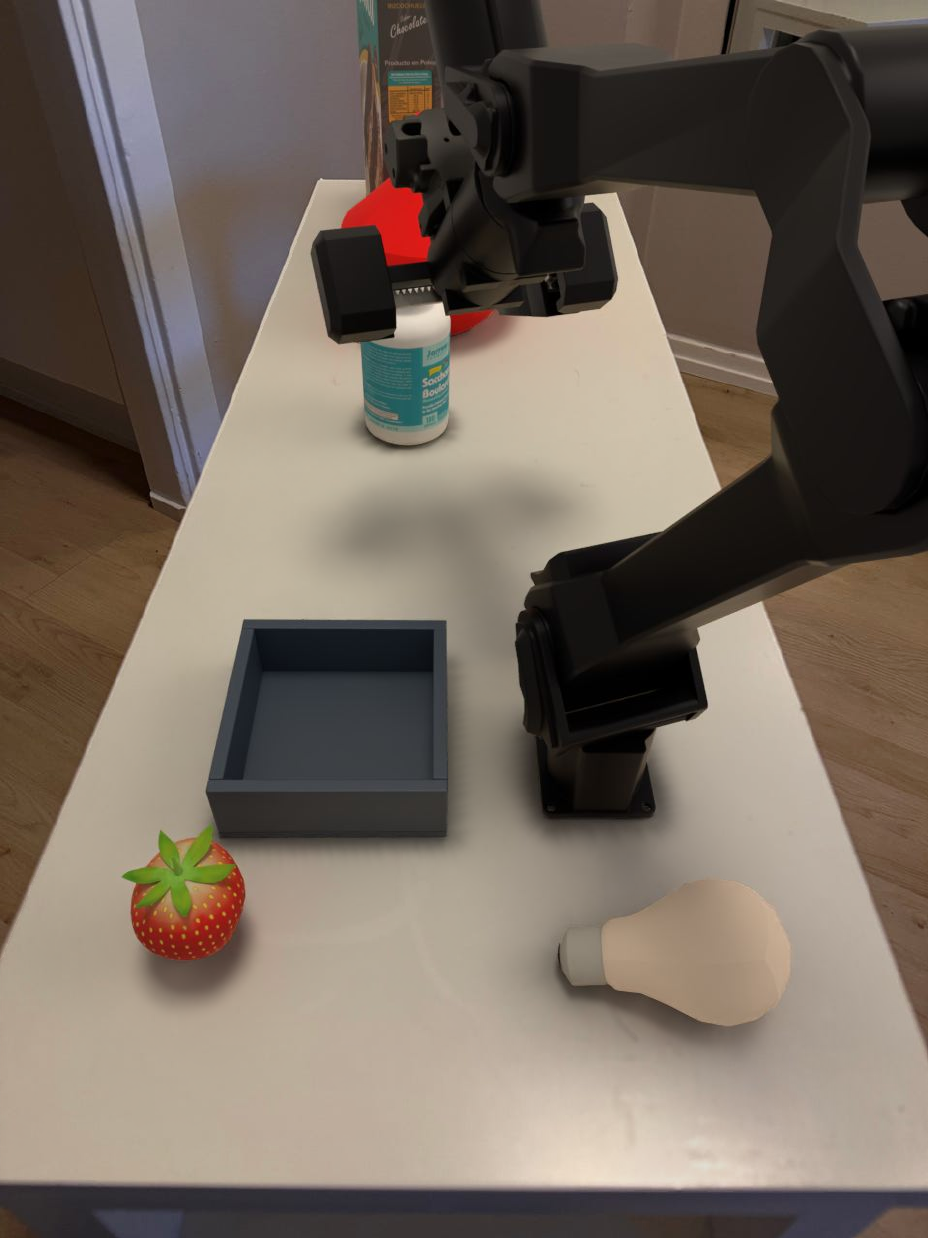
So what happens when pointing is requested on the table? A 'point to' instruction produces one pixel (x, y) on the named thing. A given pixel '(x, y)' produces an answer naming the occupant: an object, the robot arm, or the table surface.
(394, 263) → the vase
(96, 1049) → the table surface
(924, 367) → the robot arm
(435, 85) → the cake mix box
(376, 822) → the bin
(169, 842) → the fruit
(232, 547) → the table surface
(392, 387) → the pill bottle
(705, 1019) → the light bulb
